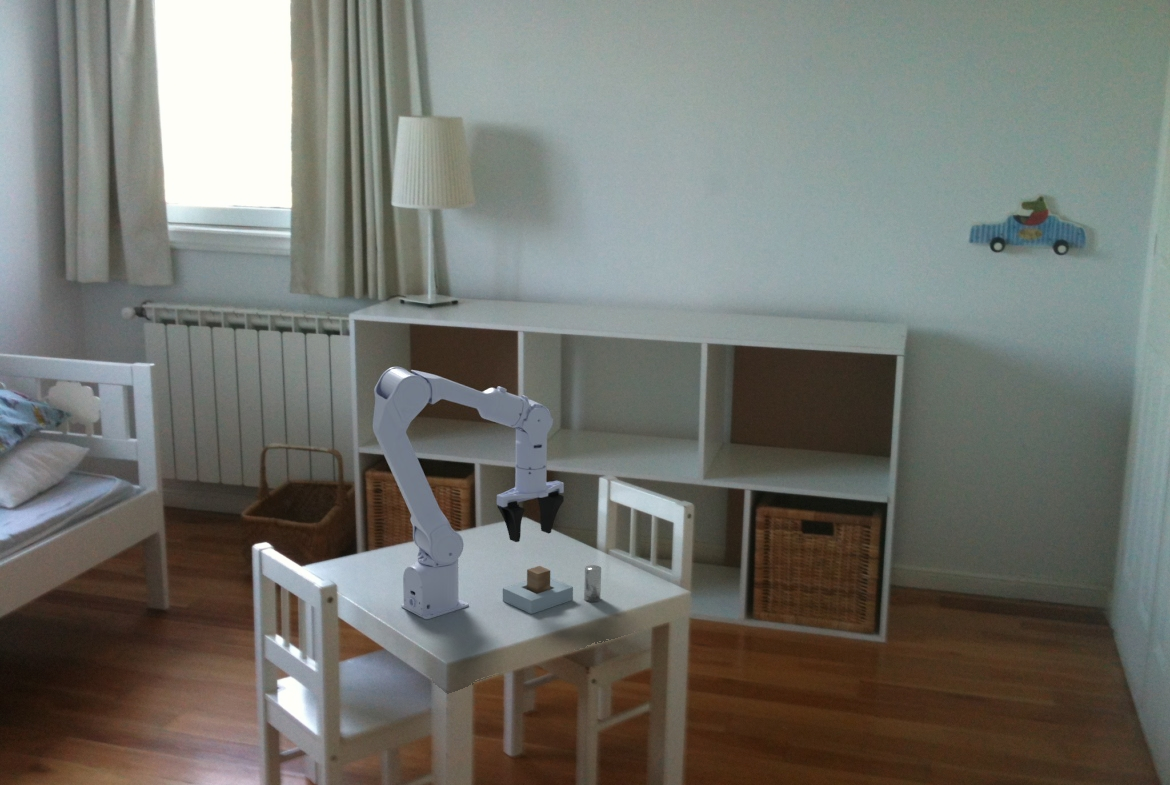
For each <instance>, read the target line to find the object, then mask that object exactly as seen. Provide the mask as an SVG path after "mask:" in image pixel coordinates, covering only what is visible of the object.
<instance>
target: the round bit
mask: <svg viewBox="0 0 1170 785" xmlns="http://www.w3.org/2000/svg"><path fill="white" fill-rule="evenodd" d="M583 582H584V583H583V584H584V587H583V588H584V590H583V593H584V594H583V600H584V601H585V602H588V603H598V602H600V601H601V588H602V585H601V582H602V567H601V566H600V565H594V564H590V565H589V564H588V565H586V566H585V567H584V581H583Z"/></svg>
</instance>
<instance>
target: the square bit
mask: <svg viewBox="0 0 1170 785" xmlns="http://www.w3.org/2000/svg"><path fill="white" fill-rule="evenodd" d="M550 578H551V570H550V569H548V568H545V567H543V566H541V565H537V566H535V567H531V568H528V569H527V570H526V581H527V590H529V591H531V592H533V593H536V594H538V593H541V592H544V591H547V590H550Z"/></svg>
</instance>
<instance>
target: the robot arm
mask: <svg viewBox="0 0 1170 785" xmlns="http://www.w3.org/2000/svg"><path fill="white" fill-rule="evenodd" d="M507 391H508V390H507V388H505V387H502V386H497V387H496V388H495V387H489V388H487V389H485V390H483V391H480V390H477V389H475V388H472V387H469V386H466V385H465V384H461V383H459V382H457V381H453V380H450V379H448V378H444V377H442V376H440V375H436V374H433V373H428V372H424V371H421V370H420V371H419V370H414V369H411V370H409V371H408V370H407V369H406V368H404V367H401V366H392V367H389V368H388V369H386V370H384V372H383V373H382V374H381V375H380V377H379V380H378V381H377V383H376V385H375V387H374V388H373V392H374V401H375V402H374V408H373V409H374V410H373V419H372V432H373V433H374V436H375V438H376V440H377V443H378V445H379V447H380V449H381V452H382V453H383V455H384V458H385V460H386V463H387V464H388V467H389V469H390V471H391V473H392V476H393V478H394V480H395V483H396V485H397V487H398V489H399V491H400V493H401V496H402V497H403V500H404V502H405V504H406V506H407V509H408V511H409V513H410V515H411V516H410V518H409V520H410V522H411V525H412V540H413V542H414V544H415V545H416V546H417V548H418V554H417V560H416V561H415V562H414V563H413V564H411V565H410V566H407V567H406V568H405V570H404V572H403V577H402V578H403V579H402V582H403V603H401V604H400V606H401V608H402V609H404V610H406V611H409V612H410V613H412V614H415V615H417V616H418V617H420V618H421V619H424V620H430V619H433V618H435V617H436V618H437V617H440V616H442V615H446V614H449V613H453V612H456V611H458V610H461V609H464V608H468V607H469V603H468V602H466V601H464V600H462V599H460V598H459V558H461V555H462V553H463V551H464V540H463V537H462V536H461V534H460V533H459V532H457V531H455V529H453V528H452V526H451V524H450V522H449V520H448V518H447V517H446V515H445V514H444V513H443V511H442V509H441V508H440V506H439V504H438V502H437V499H436V498H435V494H434V493H433V490H432V488H431V485H430V484H429V481H428V479H427V477H426V475H425V473H424V470H423V468H422V465H421V463H420V461H419V459H418V457H417V454H416V452H415V449H414V448H413V445H412V443H411V440H410V439H409V436H408V434H407V430H408V428H409V426H410V425H411V422H412V421H413V420H414V419H415V418H416V417H417V416H418V415H419V414H420V412H422V411H423V409H424V408H425V407H426V406H427V405H428V404H431V405H434V404H436V403H437V402H439V401H440V400H445V401H448V402H452V403H456V404H459V405H463V406H466V407H470V408H473V409H476V410H477V412H478V414H479V416H480V417H481V418H482V419H484V420H487V421H491V422H495V423H496V424H499V425H503V426H506V427H509V428H513V429H515V467H514V468H515V475H514V476H515V479H514V480H515V481H514V482H515V486H514V487H513V488H511V489H509V490H506V491H504V492H502V493H499V494H496V505H497V509H498V511H499V512H500V514H501V516H502V518H503V520H504V523H505V526H506V528H507V533H508V537H509V540H510V541H512V542H515V543H519V542H520V540H521V532H522V531H521V529H522V528H521V526H522V519H523V517H524V516H523V515H524V513H525V510H526V508H523V507H521V506H520V504H519V503H520V502H524V501H528V500H533V499H537V501H538V505H539V514H540V520H539V522H540V529H541V530H540V531H541V532H543V533H546V534H551V533H552V530H553V527H554V523H555V520H556V516H557V514H558V511H559V509H560V508H561V506H562V504H563V503H564V499H565V498H564V497H565V496H564V495H562V494H563V493H564V492H565V491H564V490H565V486H564V485H565V483H564V482H562V481H560V480H554V481H547V464H548V462H547V461H548V460H547V458H548V454H547V453H548V452H547V451H548V450H547V449H548V433H549V432H550V430H551V429H552V426H553V424H554V418H553V417H552V415H551V412H550V409H548V407H547V406H545V405H543V404H542V403H539V402H537V401H535V400H533V399H530V398H529V396H526V395H524V394H522V395H521V396H519V395H517V394H513V393H510V392H507Z"/></svg>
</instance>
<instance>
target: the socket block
mask: <svg viewBox="0 0 1170 785" xmlns="http://www.w3.org/2000/svg"><path fill="white" fill-rule="evenodd" d="M571 601H574V587H573V586H572V585H569V584H566V583H564V582H563V581H559V580H557V579H554V578H552V577H550V590H547V591H544V592H541V593H538V594H536V593H533V592H531V591H529V590H527V580H524V581H521V582H518V583H515V584H510V585H508V586H505V587H503V588H502V602H504V603H506V604H508V605H511V606H512V607H515V608H517V609H519V610H522V611H524V612H526V613H528V614H530V615H532V614H536V613H539V612H542V611H545V610H547V609H550V608H553V607H556V606H559V605H562V604H565V603H568V602H571Z"/></svg>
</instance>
